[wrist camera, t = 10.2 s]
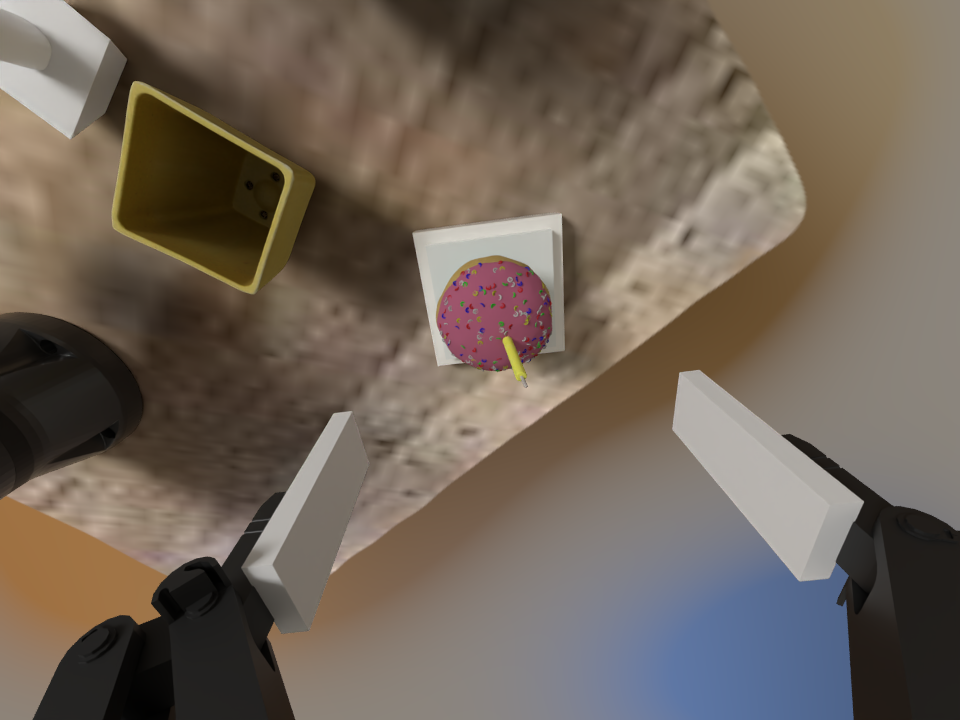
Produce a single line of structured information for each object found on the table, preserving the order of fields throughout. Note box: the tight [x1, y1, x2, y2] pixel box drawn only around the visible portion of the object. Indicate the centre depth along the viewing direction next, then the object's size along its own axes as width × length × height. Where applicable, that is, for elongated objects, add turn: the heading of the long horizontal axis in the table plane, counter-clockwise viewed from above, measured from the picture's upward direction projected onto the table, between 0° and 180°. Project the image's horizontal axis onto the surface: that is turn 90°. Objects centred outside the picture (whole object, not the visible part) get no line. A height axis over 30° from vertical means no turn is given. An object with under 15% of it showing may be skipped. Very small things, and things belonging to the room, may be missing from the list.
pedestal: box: [412, 212, 565, 366], centre depth 32 cm, size 12×12×3 cm
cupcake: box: [436, 255, 552, 388], centre depth 25 cm, size 9×8×12 cm
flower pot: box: [112, 81, 315, 295], centre depth 26 cm, size 9×9×9 cm
